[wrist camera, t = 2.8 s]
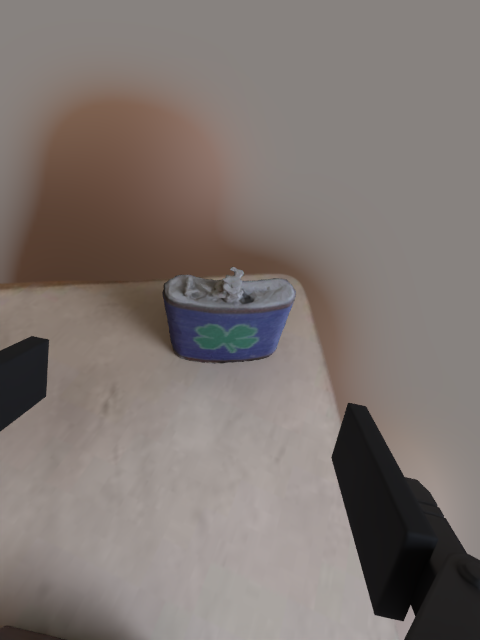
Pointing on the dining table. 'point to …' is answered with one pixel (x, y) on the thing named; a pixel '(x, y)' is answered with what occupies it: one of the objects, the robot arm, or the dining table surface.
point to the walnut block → (22, 634)
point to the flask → (226, 317)
